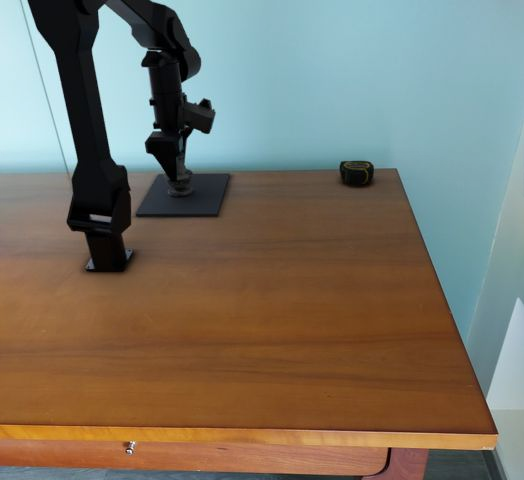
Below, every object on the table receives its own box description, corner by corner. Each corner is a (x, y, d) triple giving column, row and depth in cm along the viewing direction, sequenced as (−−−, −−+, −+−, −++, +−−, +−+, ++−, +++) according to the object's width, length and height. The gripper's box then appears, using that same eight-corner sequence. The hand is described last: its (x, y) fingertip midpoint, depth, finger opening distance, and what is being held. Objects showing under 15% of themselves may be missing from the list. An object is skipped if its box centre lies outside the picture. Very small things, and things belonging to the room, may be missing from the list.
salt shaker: (195, 184, 111) (188, 125, 103) (193, 196, 106) (186, 134, 99) (167, 186, 111) (158, 126, 103) (164, 197, 106) (155, 136, 98)
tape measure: (370, 175, 113) (372, 157, 111) (374, 188, 108) (376, 170, 106) (338, 175, 114) (339, 158, 111) (340, 188, 109) (342, 170, 106)
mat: (217, 216, 101) (217, 213, 100) (135, 216, 102) (135, 213, 101) (229, 175, 116) (229, 173, 116) (158, 176, 117) (158, 173, 117)
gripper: (201, 103, 88) (210, 192, 98) (217, 76, 103) (223, 157, 113) (136, 104, 89) (152, 193, 99) (160, 78, 103) (172, 157, 113)
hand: (178, 174), depth 106 cm, fingers closed on salt shaker, 7 cm apart
